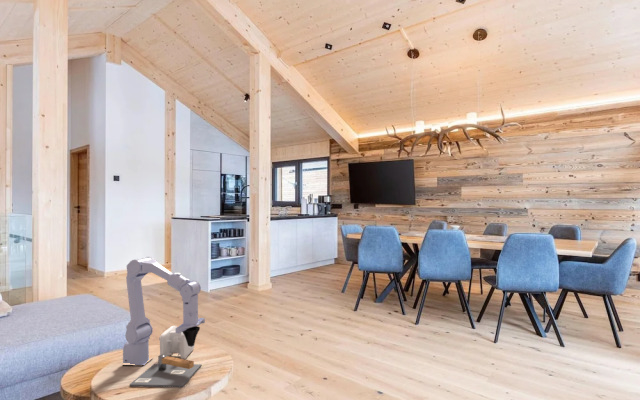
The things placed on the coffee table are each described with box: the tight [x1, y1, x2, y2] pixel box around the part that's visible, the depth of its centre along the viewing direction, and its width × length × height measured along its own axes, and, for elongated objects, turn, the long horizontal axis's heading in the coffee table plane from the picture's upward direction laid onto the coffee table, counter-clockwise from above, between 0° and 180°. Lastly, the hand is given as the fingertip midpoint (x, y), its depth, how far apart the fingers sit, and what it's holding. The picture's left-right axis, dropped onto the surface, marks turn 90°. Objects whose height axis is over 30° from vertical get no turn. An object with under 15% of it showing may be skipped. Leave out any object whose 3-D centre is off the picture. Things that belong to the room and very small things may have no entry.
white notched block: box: [159, 325, 196, 360], centre depth 168 cm, size 15×11×12 cm
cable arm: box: [157, 354, 195, 371], centre depth 149 cm, size 16×3×5 cm, turn 66°
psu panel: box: [129, 363, 202, 389], centre depth 147 cm, size 20×18×1 cm
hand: (190, 345), depth 154 cm, fingers closed
